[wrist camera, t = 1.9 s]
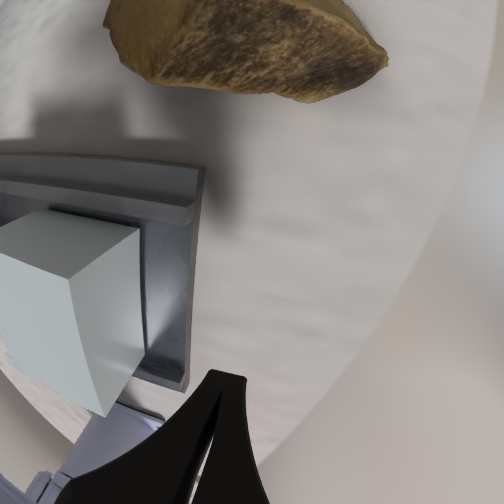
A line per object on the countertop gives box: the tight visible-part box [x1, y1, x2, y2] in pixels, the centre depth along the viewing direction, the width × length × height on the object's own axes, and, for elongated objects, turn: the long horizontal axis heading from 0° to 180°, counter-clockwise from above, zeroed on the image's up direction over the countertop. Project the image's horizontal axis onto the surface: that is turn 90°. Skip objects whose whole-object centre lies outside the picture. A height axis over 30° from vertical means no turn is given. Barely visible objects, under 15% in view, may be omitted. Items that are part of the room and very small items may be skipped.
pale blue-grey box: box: [0, 208, 145, 418], centre depth 13 cm, size 10×9×5 cm
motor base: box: [0, 153, 205, 393], centre depth 14 cm, size 14×25×6 cm, turn 81°
